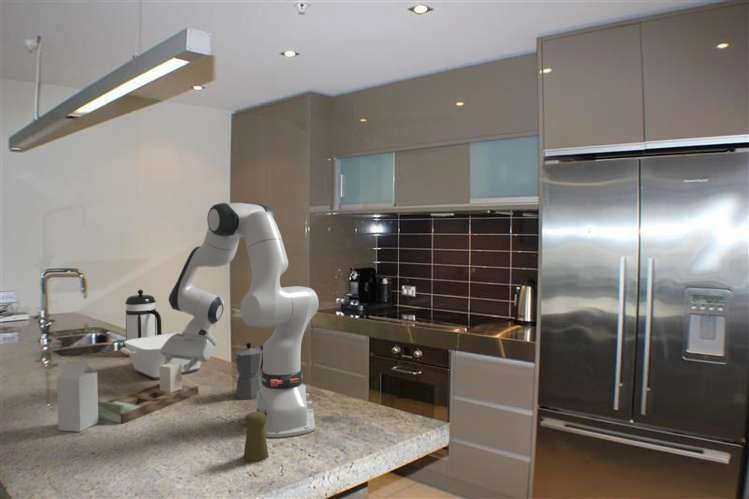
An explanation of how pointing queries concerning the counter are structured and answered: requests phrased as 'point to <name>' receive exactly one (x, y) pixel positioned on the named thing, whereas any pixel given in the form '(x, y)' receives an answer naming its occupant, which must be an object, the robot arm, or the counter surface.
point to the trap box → (141, 403)
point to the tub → (152, 355)
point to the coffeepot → (249, 371)
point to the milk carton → (77, 397)
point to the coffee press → (141, 317)
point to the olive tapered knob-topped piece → (255, 437)
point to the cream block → (170, 377)
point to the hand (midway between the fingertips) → (175, 368)
